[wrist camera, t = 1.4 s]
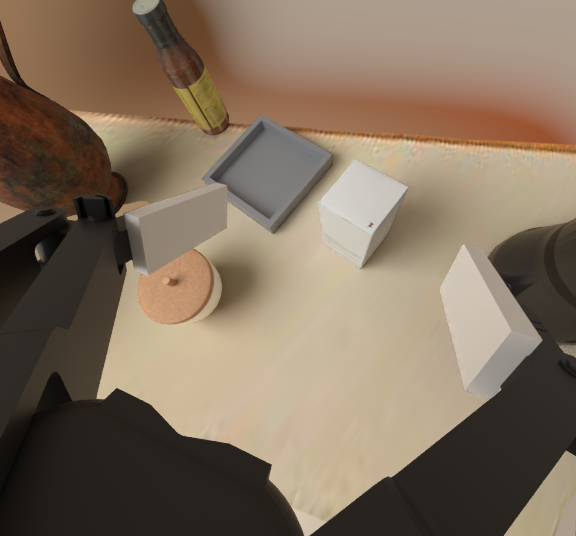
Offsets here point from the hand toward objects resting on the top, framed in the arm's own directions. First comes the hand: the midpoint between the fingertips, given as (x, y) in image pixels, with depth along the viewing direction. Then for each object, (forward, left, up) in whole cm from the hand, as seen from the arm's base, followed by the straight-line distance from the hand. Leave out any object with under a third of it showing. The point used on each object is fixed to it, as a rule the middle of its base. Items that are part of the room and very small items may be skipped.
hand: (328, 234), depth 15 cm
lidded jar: (+17, +12, -26) cm, 33 cm away
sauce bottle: (+39, -14, -26) cm, 49 cm away
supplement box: (+3, -10, -26) cm, 28 cm away
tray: (+22, -11, -26) cm, 36 cm away
